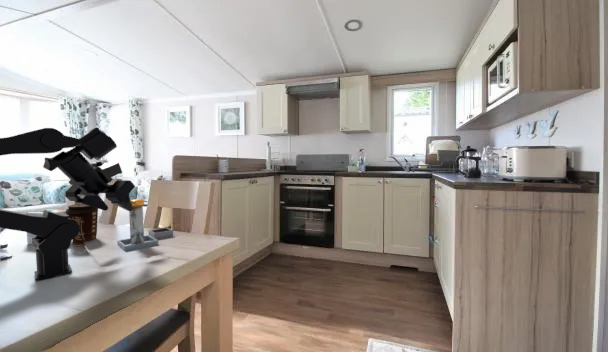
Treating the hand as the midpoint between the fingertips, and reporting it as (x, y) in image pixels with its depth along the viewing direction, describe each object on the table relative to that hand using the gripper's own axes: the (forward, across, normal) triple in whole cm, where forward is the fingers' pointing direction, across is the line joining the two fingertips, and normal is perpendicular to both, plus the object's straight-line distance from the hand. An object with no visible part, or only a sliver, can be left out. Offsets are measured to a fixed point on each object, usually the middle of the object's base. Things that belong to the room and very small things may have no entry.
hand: (119, 209), depth 82 cm
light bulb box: (+11, +34, +6) cm, 36 cm away
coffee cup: (+13, +21, +5) cm, 25 cm away
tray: (+13, -1, +5) cm, 14 cm away
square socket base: (+20, -1, -3) cm, 20 cm away
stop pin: (+12, -1, +5) cm, 13 cm away
